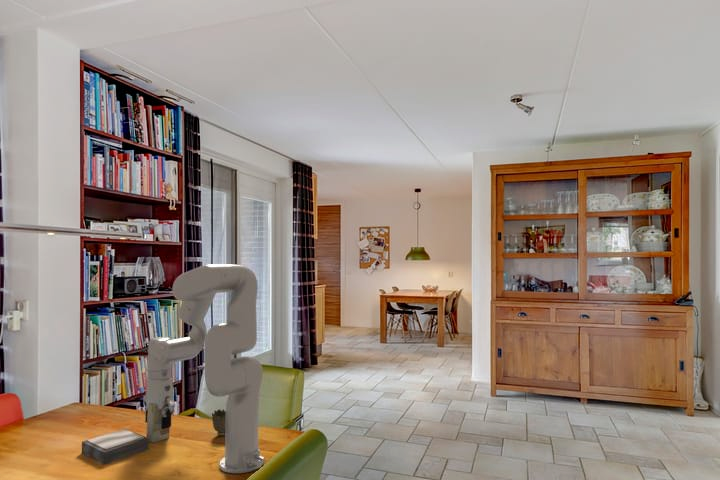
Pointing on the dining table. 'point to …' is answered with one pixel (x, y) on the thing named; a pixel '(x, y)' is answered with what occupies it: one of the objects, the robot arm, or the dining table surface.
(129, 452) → the plinth
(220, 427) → the cup
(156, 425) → the skincare box
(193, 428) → the dining table surface
